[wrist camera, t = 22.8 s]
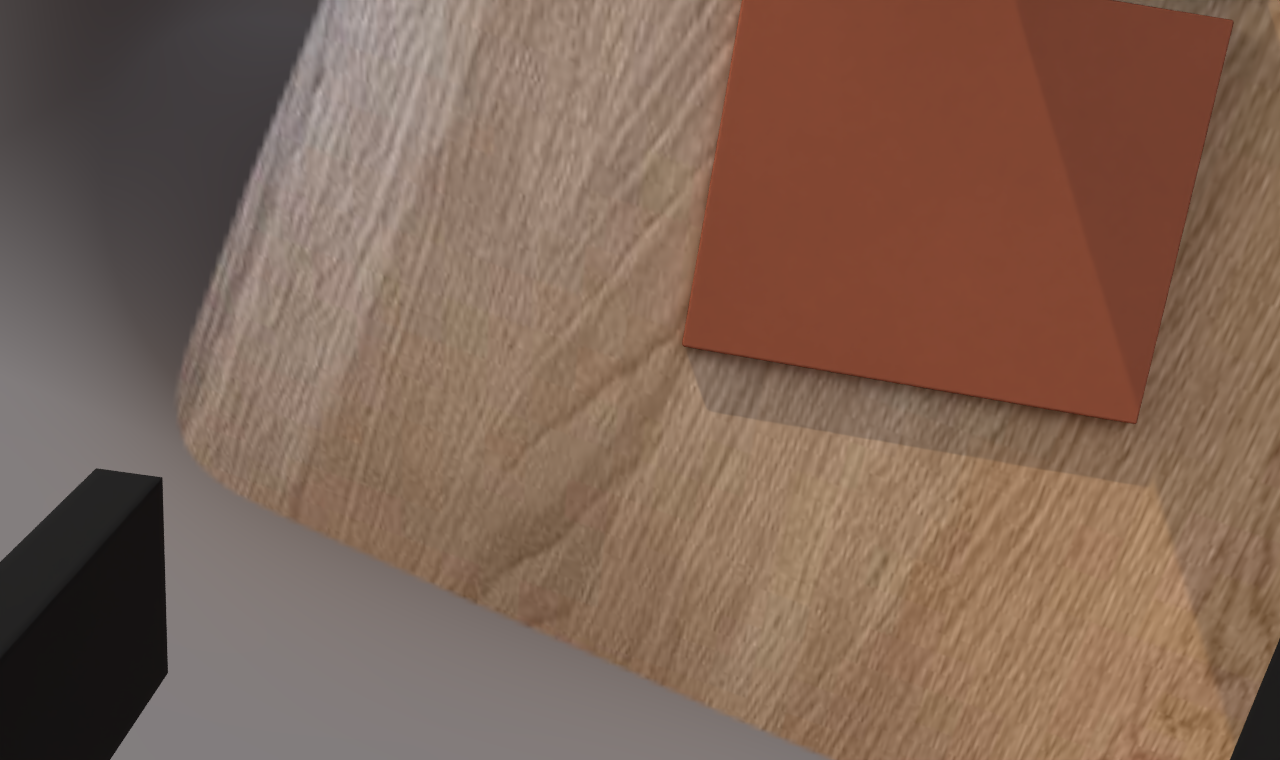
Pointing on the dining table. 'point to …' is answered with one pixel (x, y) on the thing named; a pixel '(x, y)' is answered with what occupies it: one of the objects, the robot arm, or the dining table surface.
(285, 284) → the dining table surface
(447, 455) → the dining table surface
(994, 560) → the dining table surface
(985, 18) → the terracotta mat
